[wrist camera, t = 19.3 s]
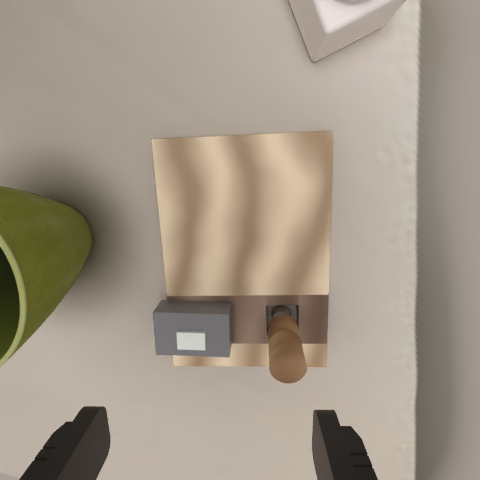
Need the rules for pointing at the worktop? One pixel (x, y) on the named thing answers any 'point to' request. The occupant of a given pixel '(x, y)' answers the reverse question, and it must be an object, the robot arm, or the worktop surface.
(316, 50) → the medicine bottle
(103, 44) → the worktop surface
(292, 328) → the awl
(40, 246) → the flower pot
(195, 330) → the block
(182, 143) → the subfloor panel
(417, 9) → the worktop surface
